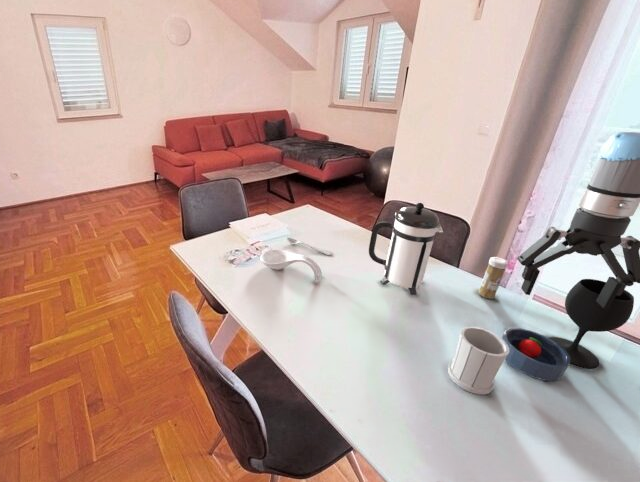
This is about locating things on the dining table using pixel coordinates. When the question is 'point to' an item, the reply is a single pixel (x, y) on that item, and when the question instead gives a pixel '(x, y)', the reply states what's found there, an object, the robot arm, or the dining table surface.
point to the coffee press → (407, 246)
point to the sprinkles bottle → (492, 277)
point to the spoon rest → (288, 261)
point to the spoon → (307, 245)
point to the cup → (477, 360)
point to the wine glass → (592, 318)
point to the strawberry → (530, 347)
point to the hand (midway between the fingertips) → (562, 298)
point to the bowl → (543, 366)
